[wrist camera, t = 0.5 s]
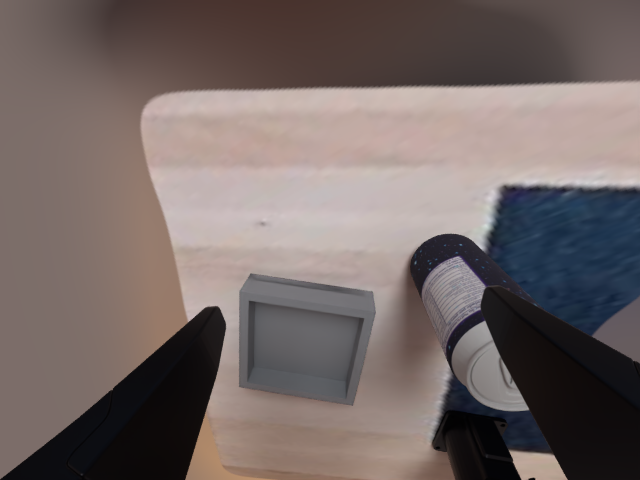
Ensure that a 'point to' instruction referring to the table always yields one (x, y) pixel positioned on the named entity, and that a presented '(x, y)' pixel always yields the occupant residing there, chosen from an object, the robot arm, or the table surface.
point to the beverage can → (466, 315)
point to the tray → (303, 338)
